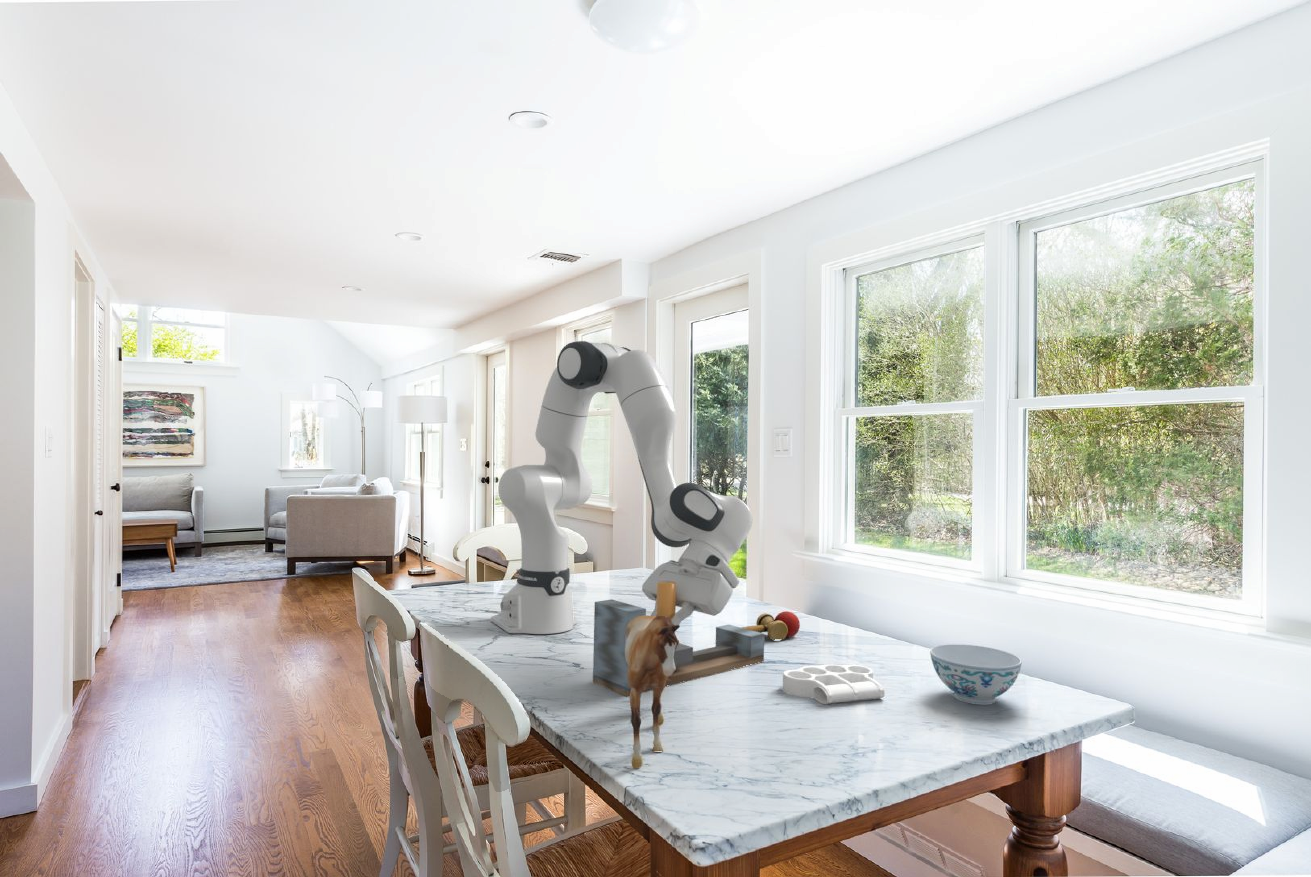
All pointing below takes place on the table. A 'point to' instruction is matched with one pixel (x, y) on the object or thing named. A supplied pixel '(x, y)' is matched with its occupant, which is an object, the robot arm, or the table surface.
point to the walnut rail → (728, 654)
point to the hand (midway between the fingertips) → (663, 621)
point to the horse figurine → (649, 670)
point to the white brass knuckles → (833, 683)
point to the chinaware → (975, 671)
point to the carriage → (666, 608)
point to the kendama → (777, 625)
